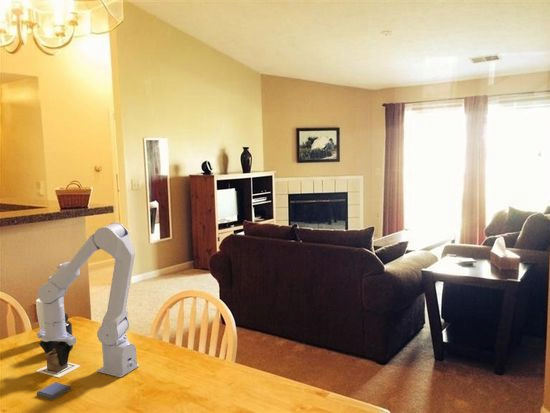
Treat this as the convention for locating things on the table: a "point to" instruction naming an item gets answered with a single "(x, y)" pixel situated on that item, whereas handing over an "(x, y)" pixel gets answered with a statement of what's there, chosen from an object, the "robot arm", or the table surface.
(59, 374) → the form sheet
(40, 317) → the drinking glass
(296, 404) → the table surface
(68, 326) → the supplement bottle
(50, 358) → the stamp
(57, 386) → the ink pad
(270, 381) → the table surface
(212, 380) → the table surface
